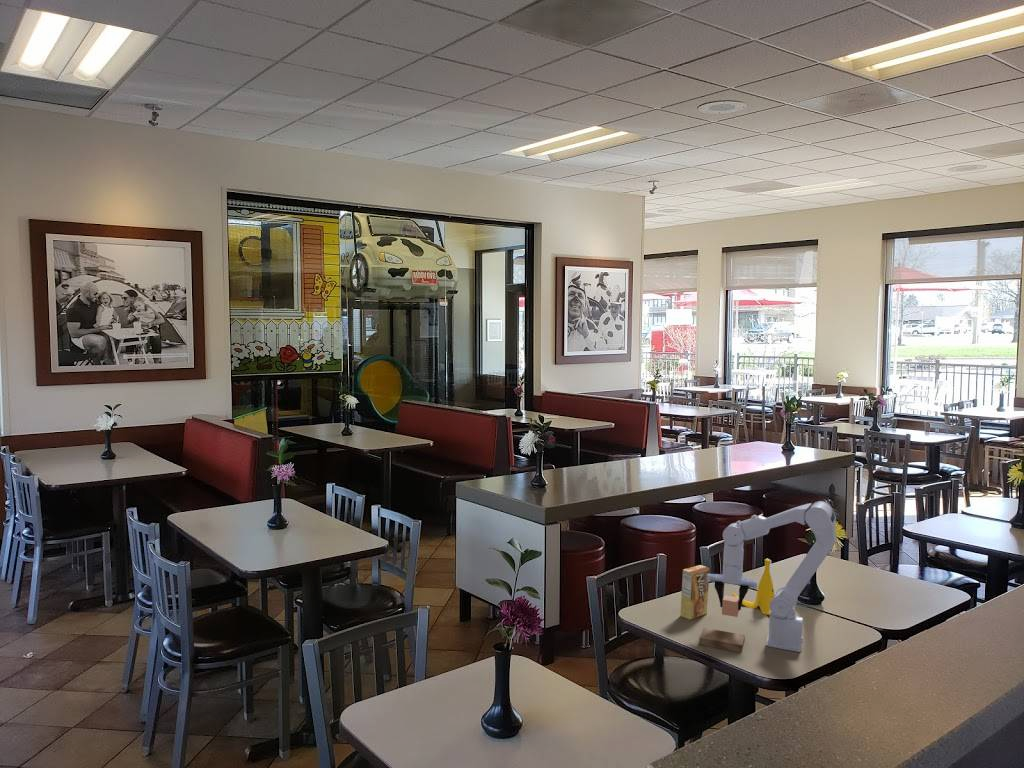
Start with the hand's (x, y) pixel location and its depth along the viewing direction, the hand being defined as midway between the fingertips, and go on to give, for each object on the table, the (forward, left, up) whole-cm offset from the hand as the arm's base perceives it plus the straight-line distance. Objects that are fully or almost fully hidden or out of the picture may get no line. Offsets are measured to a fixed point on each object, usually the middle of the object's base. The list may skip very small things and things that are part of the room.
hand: (730, 607), depth 232 cm
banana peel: (-6, -26, -8) cm, 28 cm away
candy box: (+12, -9, -8) cm, 17 cm away
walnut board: (+1, +9, -8) cm, 12 cm away
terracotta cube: (0, 0, -2) cm, 2 cm away
